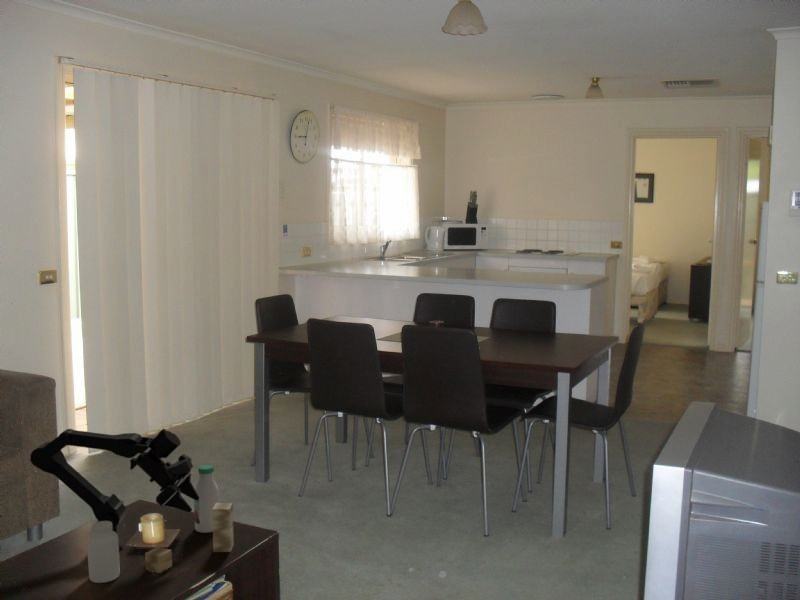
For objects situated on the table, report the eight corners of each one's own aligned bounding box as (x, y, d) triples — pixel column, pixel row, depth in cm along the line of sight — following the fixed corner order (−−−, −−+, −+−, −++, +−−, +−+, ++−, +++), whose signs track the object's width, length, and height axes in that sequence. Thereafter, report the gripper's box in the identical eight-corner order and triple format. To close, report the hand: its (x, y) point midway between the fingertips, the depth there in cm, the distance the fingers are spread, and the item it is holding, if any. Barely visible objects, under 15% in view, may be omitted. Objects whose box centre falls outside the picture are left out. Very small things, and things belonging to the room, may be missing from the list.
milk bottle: (223, 524, 255) (221, 463, 252) (215, 534, 247) (213, 471, 245) (199, 523, 256) (198, 462, 253) (191, 532, 248) (189, 470, 246)
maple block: (213, 552, 234) (212, 509, 233) (216, 544, 239) (215, 503, 238) (230, 551, 235) (229, 509, 233) (233, 544, 239) (232, 502, 238)
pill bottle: (95, 570, 223) (93, 518, 221) (124, 570, 222) (122, 518, 221) (83, 583, 215) (81, 530, 213) (113, 584, 214) (111, 530, 213)
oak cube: (145, 570, 223) (145, 553, 222) (159, 563, 227) (158, 546, 227) (159, 574, 220) (158, 556, 220) (172, 567, 225) (171, 550, 224)
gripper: (166, 459, 224) (206, 498, 225) (183, 440, 242) (220, 475, 244) (138, 486, 224) (179, 524, 226) (157, 465, 243) (194, 500, 244)
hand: (194, 505), depth 235 cm, fingers open, 9 cm apart
